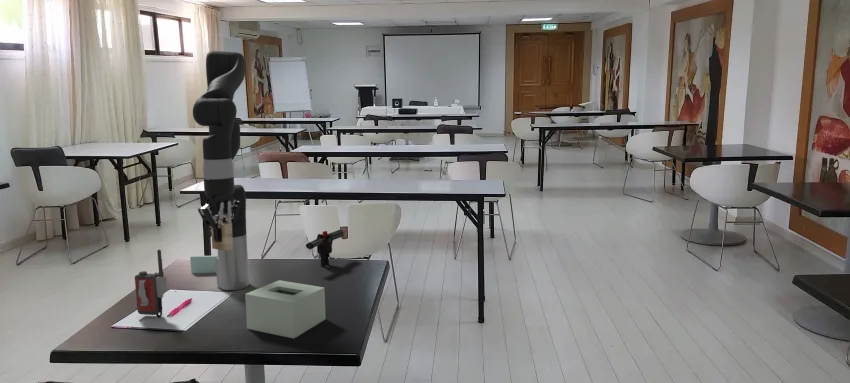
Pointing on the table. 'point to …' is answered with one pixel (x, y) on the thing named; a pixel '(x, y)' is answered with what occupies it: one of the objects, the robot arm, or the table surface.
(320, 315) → the box
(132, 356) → the table surface
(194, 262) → the right angle wall
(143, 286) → the walkie-talkie
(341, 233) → the black tube on stand
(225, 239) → the light brown upright block
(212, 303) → the table surface
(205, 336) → the table surface
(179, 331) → the table surface
